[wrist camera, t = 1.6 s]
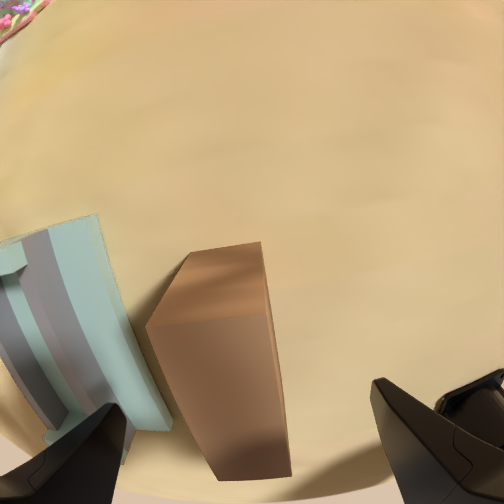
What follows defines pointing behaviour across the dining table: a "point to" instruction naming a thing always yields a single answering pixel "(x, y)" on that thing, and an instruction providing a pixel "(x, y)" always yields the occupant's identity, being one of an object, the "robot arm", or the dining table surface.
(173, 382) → the brown wooden block
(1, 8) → the candy landscape model
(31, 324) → the light blue tray
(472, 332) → the dining table surface
